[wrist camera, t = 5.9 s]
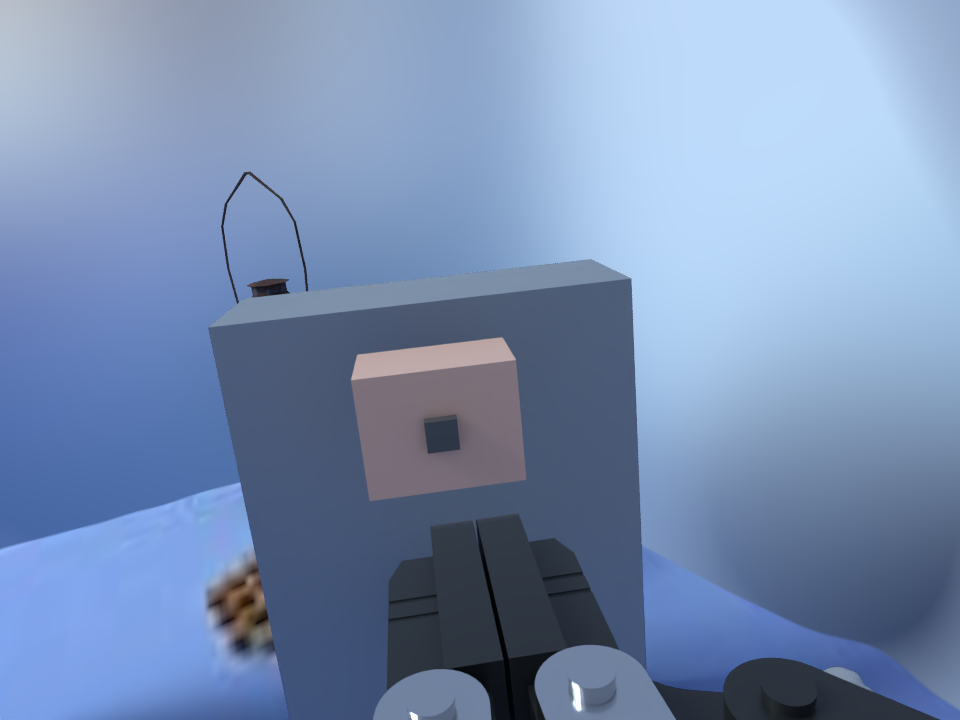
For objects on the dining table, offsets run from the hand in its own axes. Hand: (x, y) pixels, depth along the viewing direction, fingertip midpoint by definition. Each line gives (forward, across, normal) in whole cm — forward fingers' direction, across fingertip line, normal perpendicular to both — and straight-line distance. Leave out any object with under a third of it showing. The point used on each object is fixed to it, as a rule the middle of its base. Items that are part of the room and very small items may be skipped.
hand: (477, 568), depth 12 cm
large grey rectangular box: (+19, 0, +22) cm, 29 cm away
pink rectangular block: (+11, 0, +3) cm, 12 cm away
